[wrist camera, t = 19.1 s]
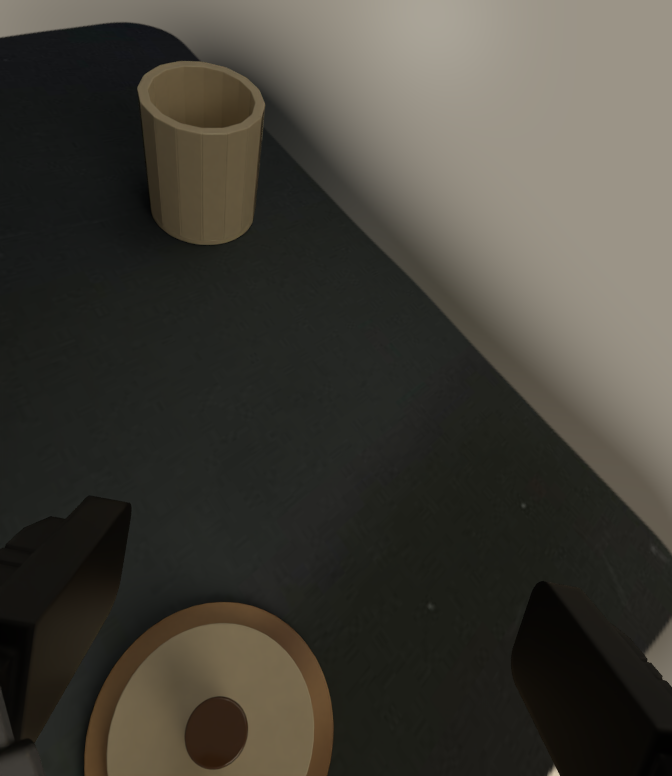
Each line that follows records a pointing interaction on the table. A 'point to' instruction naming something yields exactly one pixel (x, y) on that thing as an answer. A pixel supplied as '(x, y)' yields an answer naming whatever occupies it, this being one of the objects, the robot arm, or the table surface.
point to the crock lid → (213, 709)
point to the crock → (201, 149)
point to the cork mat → (197, 617)
